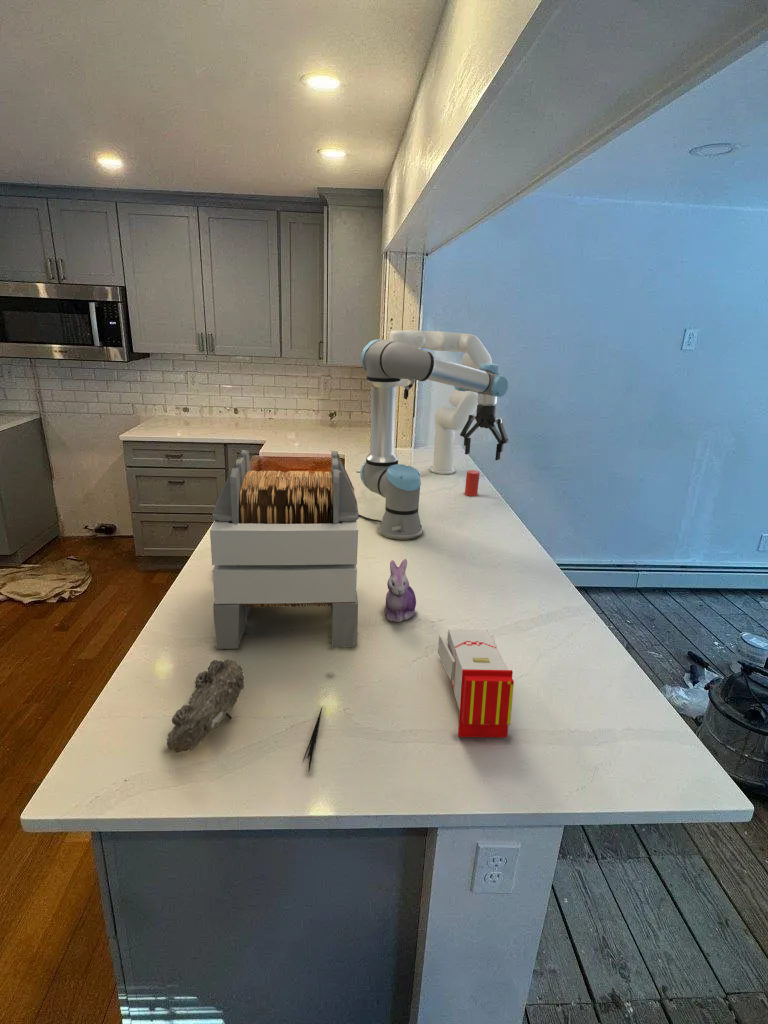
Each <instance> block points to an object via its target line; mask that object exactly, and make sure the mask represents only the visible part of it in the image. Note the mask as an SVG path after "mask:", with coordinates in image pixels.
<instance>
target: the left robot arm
mask: <svg viewBox="0 0 768 1024" xmlns="http://www.w3.org/2000/svg"><path fill="white" fill-rule="evenodd" d="M360 362H361V366H362V368H363V369H364V371H366V381H367V383H368V384H369V385H370V441H369V442H370V445H369V446H370V449H369V450H370V452H369V453H368V454H367V455H366V456H365V461H364V463H363V465H362V466H361V469H360V472H359V473H360V480H361V483H362V484H363V486H364V487H365V488H367V489H368V490H369V491H371V492H373V493H375V494H378V495H379V496H380V497H383V498H385V504H384V505H385V507H384V508H385V509H384V513H383V515H382V519H381V520H380V519H375V518H370V517H367V516H365V515H362V514H359V516H358V518H361V519H365V520H366V521H367V520H368V521H370V522H375V523H379V525H378V533H379V534H380V535H381V536H382V537H385V538H387V539H389V540H395V541H410V540H415V539H418V538H420V537H421V536H422V535H423V525H422V524H421V518H420V515H419V507H420V506H419V505H420V496H421V495H420V494H421V484H422V483H421V482H422V481H421V473H420V471H419V470H418V469H417V468H416V467H413V466H411V465H406V464H401V463H399V457H398V455H396V454H395V441H396V440H395V439H396V437H395V434H396V397H397V396H396V394H397V386H396V385H397V384H398V383H399V382H400V380H401V379H412V380H415V381H419V382H425V381H426V382H427V381H430V382H431V381H432V382H435V383H439V384H444V385H447V386H452V387H454V389H456V390H458V391H472V392H476V393H477V394H478V400H477V403H479V404H478V405H477V409H476V411H475V412H476V415H475V413H474V414H471V415H469V418H468V421H467V423H466V425H465V426H464V427H463V428H462V429H461V432H460V433H459V436H460V437H462V438H463V446H464V447H465V448H464V455H469V454H470V453H471V440H472V438H471V436H472V435H473V433H475V431H476V430H478V429H479V427H480V429H482V428H483V429H489V431H490V432H491V434H492V435H493V436H494V438H495V440H496V441H497V444H496V448H495V449H496V450H495V461H499V460H501V453H502V452H504V445H505V444H507V443H509V437H508V435H507V432H506V429H505V426H504V419H503V418H502V417H500V418H496V414H497V403H498V398H501V397H504V396H505V395H506V394H507V393H508V391H509V388H510V382H509V379H508V377H506V376H505V375H501V374H500V372H501V371H500V368H501V367H500V365H499V364H497V363H492V364H491V363H484V364H481V365H480V369H479V370H478V369H475V368H471V367H468V366H464V365H462V363H457V362H453V361H450V360H447V359H443V358H440V357H436V356H434V354H433V353H432V352H431V351H427V350H424V349H422V348H416V347H414V346H412V345H409V344H407V343H404V342H398V341H391V340H389V339H383V338H381V339H380V338H379V339H378V338H377V339H373V340H371V341H369V342H368V343H367V344H366V345H365V346H364V347H363V349H362V351H361V355H360ZM474 421H476V422H475V423H474V425H473V426H472V427H471V425H472V424H473V422H474ZM495 423H496V424H495ZM496 425H497V426H496ZM470 427H471V428H470Z"/></svg>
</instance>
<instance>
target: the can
mask: <svg viewBox="0 0 768 1024" xmlns="http://www.w3.org/2000/svg"><path fill="white" fill-rule="evenodd" d="M480 473H481V472H480V471H479V470H476V469H475V470H473V469H470V470H467V471H466V477H465V485H464V486H465V488H464V496H467V497H477V496H478V492H479V482H480Z"/></svg>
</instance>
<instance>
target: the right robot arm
mask: <svg viewBox="0 0 768 1024" xmlns="http://www.w3.org/2000/svg"><path fill="white" fill-rule="evenodd" d="M388 340H391V341H398V342H404V343H407V344H409V345H412V346H414V347H416V348H419V349H426V350H430V351H431V350H432V351H438V352H452V353H464V354H463V355H462V358H461V365H464V366H468V367H471V368H475V369H478V370H479V369H480V365H481V364H484V363H491V364H493V361H492V360H493V359H492V356H491V354H490V352H489V351H488V349H487V348H486V347H485V346H484V344H483V343H482V341H481V340H480V339H479V337H478V336H476V335H475V334H472V333H465V332H452V331H443V330H416V329H415V330H414V329H403V330H401V329H400V330H398V329H394V330H393V329H392V330H390V332H389V339H388ZM409 382H410V383H409ZM415 383H416V380H412V379H401V380H400V382H399V383H398V384H397V385H396V387H403V388H404V390H403V399H405V400H408V398H409V391H410V390H411V389H412V387H413V386H414V385H415ZM477 400H478V393H477V392H472V391H458V390H456V389H455V388H454V389H453V391H452V392H451V394H450V396H449V404H450V405H451V406H452V407H451V406H448V405H447V406H445V405H444V406H441V407H439V408H438V409H436V411H435V414H434V426H435V431H434V432H435V435H434V437H435V438H434V447H433V461H432V465H431V466H429V471H430V472H432V473H435V474H438V475H439V474H440V475H450V474H451V475H452V474H454V473H455V472H456V468H454V467H453V463H454V451H455V440H456V432H455V431H460V430H463V428H464V426H465V425H466V423H467V421H468V418H469V415H471V414H474V415H475V412H477V405H478V404H479V403H477Z"/></svg>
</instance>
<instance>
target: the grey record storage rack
mask: <svg viewBox="0 0 768 1024" xmlns="http://www.w3.org/2000/svg"><path fill="white" fill-rule="evenodd" d="M330 459H331V460H330V461H331V462H330V466H331V467H330V471H324V472H323V471H320V470H319V471H317V470H316V471H315V470H314V472H310V471H309V470H288V471H281V470H278V471H277V470H259V471H258V470H251V464H250V450H249V449H247V450H246V449H241V450H240V453H239V455H238V457H237V459H236V461H235V463H234V465H233V467H232V468H231V470H230V472H229V474H228V477H227V479H226V481H225V483H224V485H223V488H222V490H221V492H220V495H219V497H218V499H217V501H216V503H215V506H214V507H213V510H212V520H213V523H212V524H211V527H210V529H209V538H210V555H211V565H212V566H214V567H213V569H212V584H213V600H214V601H213V605H212V610H213V611H212V612H213V624H214V633H215V646H214V648H215V649H216V650H222V651H223V649H225V650H227V649H229V650H230V649H233V650H234V649H235V650H237V649H238V648H239V646H240V643H241V641H242V638H243V635H244V633H245V630H246V628H247V618H249V615H250V612H251V608H270V607H272V608H276V607H277V608H279V607H280V608H282V607H285V608H288V607H291V608H294V607H295V608H296V607H306V606H307V607H326V606H328V607H330V617H331V618H330V620H331V621H330V625H331V626H330V627H331V647H333V648H335V647H337V648H338V647H339V648H340V647H347V648H354V647H356V646H358V622H359V621H358V618H359V600H358V592H357V583H358V568H357V564H358V547H359V546H358V545H359V528H358V527H359V526H358V520H359V515H360V514H359V507H358V502H357V498H356V497H357V496H356V493H355V492H356V491H355V487H354V485H353V482H352V481H351V478H350V477H349V474H348V472H347V470H346V468H345V465H344V463H343V461H342V459H341V457H340V455H339V453H338V451H337V450H331V458H330Z"/></svg>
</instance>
